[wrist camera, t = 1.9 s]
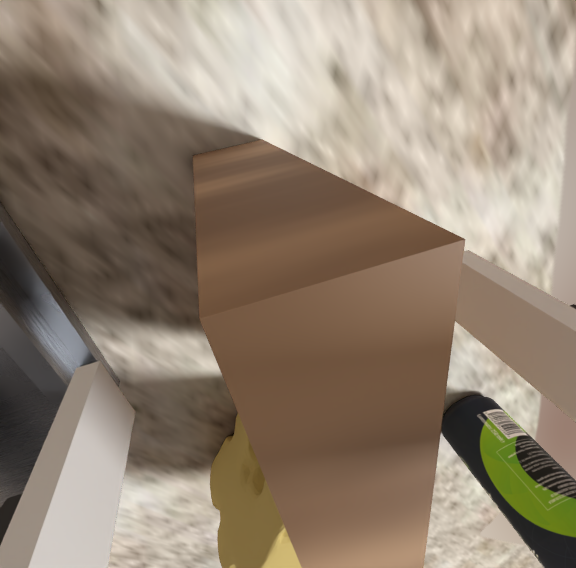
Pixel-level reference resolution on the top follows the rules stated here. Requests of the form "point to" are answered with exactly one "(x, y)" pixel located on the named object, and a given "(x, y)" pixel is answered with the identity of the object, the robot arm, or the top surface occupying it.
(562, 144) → the top surface
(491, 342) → the robot arm
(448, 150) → the top surface
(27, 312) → the bottom track
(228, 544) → the cheese
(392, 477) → the door panel
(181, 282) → the top surface
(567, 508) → the beverage can
